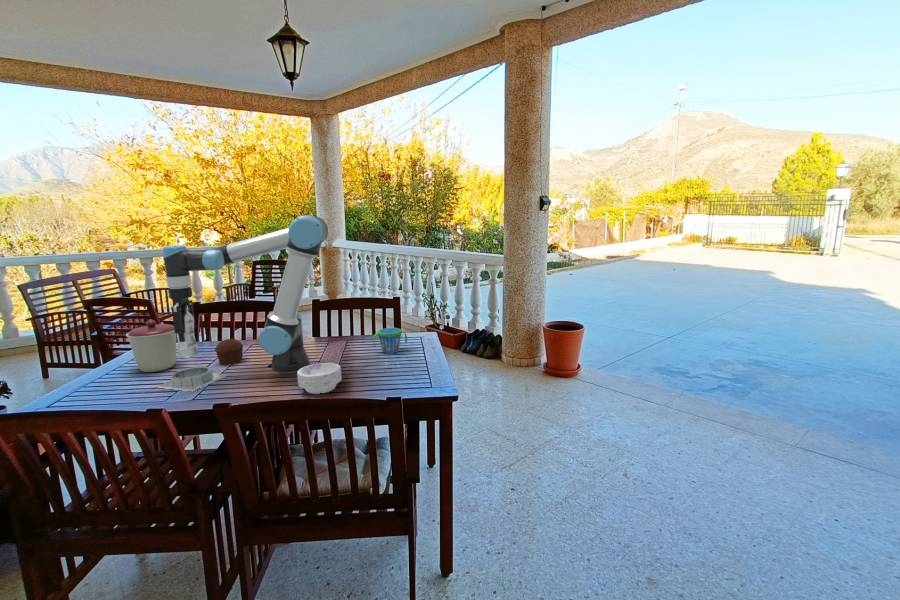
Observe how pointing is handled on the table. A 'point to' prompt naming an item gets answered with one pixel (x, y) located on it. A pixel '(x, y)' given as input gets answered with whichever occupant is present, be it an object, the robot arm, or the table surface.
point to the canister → (153, 346)
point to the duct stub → (192, 379)
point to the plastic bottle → (189, 337)
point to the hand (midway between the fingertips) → (187, 347)
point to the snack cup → (390, 339)
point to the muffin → (229, 351)
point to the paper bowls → (319, 377)
